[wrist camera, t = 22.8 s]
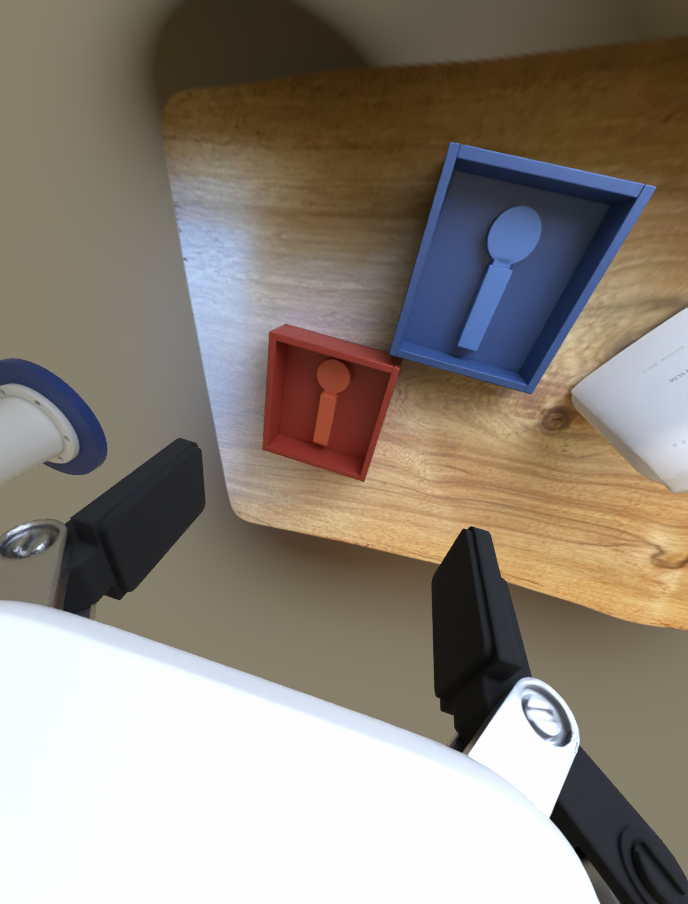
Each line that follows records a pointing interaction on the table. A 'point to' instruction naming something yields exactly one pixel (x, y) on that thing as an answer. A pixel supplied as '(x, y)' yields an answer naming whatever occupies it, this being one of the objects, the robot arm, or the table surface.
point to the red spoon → (330, 395)
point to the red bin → (299, 397)
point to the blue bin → (532, 280)
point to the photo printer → (645, 403)
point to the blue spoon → (499, 268)
